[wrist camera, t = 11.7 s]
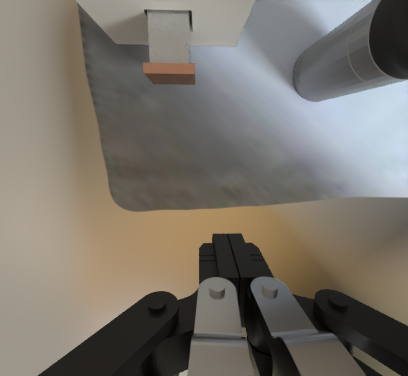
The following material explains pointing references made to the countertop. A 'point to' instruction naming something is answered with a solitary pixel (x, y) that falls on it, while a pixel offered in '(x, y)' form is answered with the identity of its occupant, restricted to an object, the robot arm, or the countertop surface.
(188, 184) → the countertop surface
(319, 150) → the countertop surface
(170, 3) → the key box
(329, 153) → the countertop surface
